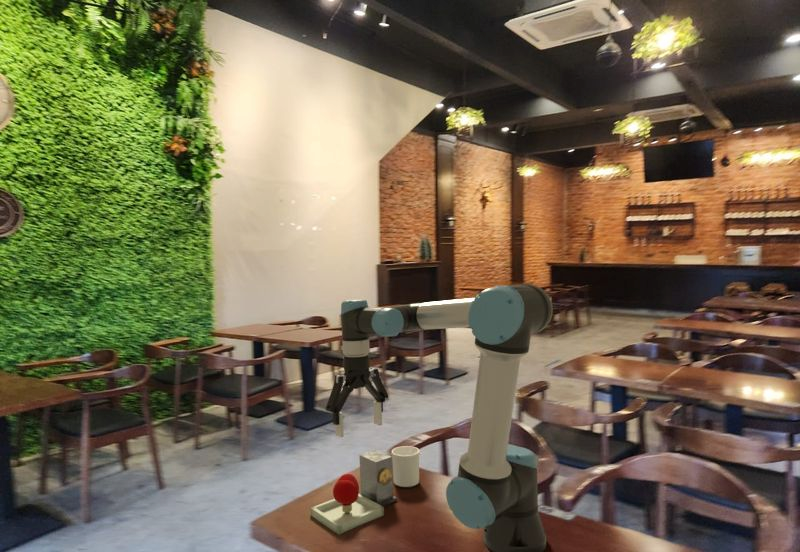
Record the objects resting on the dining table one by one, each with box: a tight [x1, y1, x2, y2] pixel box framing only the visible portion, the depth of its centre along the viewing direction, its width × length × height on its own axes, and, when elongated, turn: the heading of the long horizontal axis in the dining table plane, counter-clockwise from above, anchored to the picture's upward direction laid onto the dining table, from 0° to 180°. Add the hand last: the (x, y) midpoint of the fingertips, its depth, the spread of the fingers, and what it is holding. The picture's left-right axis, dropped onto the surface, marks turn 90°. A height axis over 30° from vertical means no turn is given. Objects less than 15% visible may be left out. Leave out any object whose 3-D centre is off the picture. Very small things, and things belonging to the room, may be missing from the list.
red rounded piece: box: [332, 473, 360, 514], centre depth 143 cm, size 9×7×10 cm
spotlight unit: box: [359, 449, 398, 508], centre depth 152 cm, size 10×7×13 cm
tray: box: [310, 494, 385, 535], centre depth 143 cm, size 14×15×2 cm
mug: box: [391, 445, 421, 489], centre depth 164 cm, size 11×9×10 cm
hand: (359, 430), depth 144 cm, fingers open, 13 cm apart
